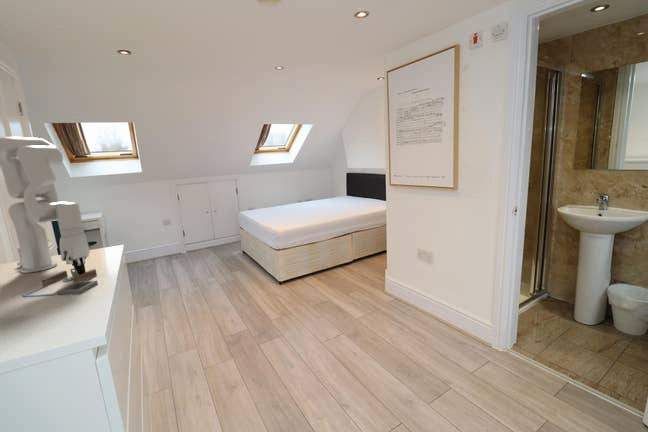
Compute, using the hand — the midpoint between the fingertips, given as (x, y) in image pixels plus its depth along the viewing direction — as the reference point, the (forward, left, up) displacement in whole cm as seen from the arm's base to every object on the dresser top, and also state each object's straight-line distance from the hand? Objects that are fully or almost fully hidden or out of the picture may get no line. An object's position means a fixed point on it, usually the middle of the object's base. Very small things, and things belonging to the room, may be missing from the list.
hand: (80, 273), depth 128 cm
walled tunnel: (0, -5, -1) cm, 5 cm away
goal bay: (0, -15, -1) cm, 15 cm away
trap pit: (+11, -15, -1) cm, 19 cm away
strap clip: (0, -3, -1) cm, 3 cm away
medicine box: (-42, +23, -1) cm, 48 cm away
